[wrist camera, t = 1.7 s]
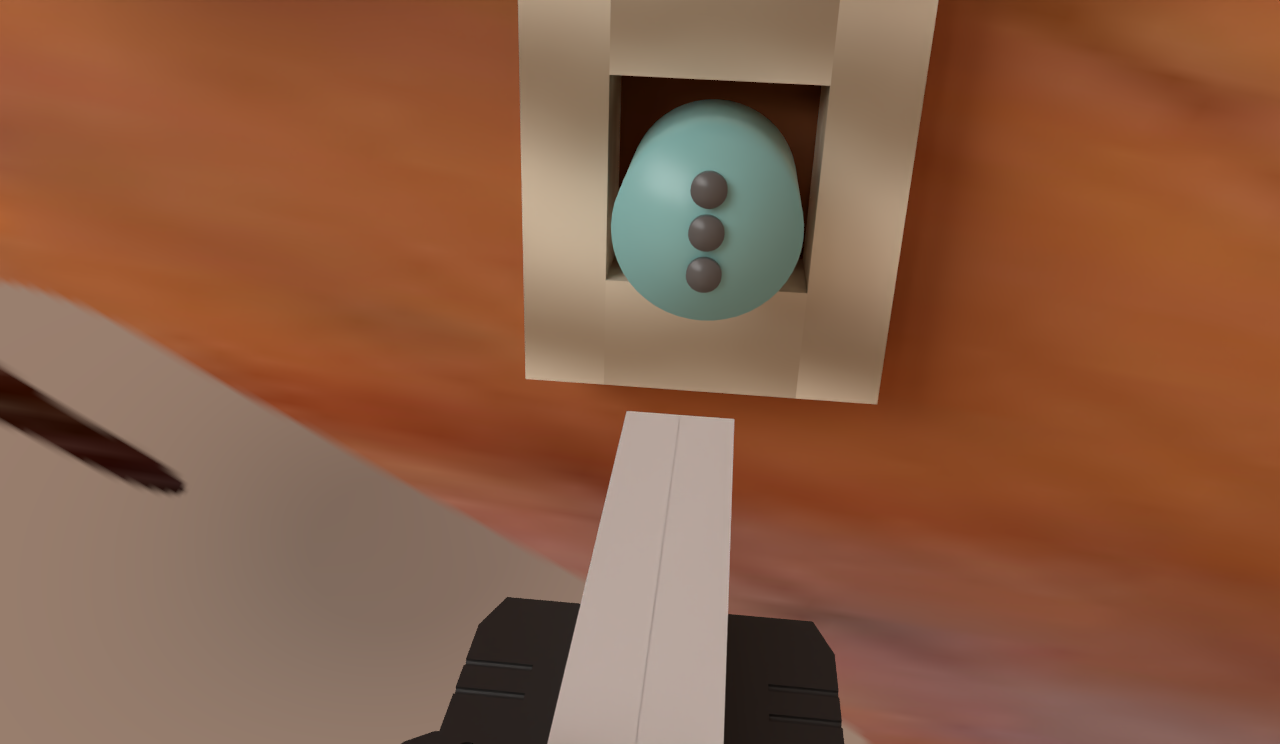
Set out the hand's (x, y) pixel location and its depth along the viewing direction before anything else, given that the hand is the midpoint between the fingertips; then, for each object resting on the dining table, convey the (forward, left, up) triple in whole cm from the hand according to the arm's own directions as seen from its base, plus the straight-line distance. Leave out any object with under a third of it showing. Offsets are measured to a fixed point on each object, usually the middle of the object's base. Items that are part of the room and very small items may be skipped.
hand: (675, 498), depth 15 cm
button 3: (0, 0, -17) cm, 17 cm away
